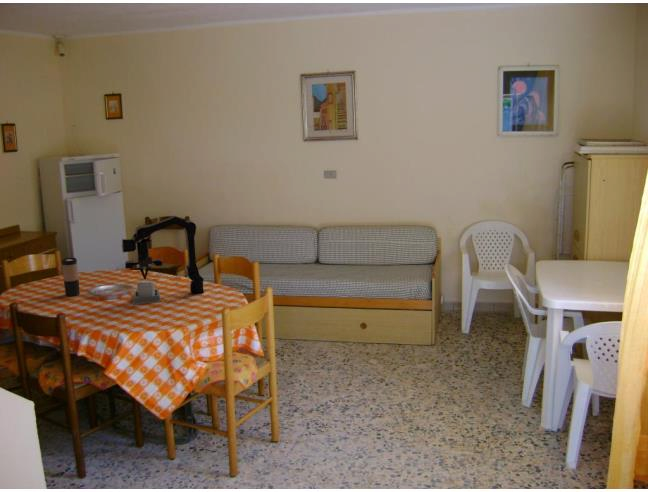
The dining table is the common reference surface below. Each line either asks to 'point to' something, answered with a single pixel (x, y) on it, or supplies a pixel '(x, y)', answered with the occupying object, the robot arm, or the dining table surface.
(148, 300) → the caddy
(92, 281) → the dining table surface
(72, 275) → the travel mug
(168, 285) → the dining table surface
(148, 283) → the medicine box
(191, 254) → the robot arm
